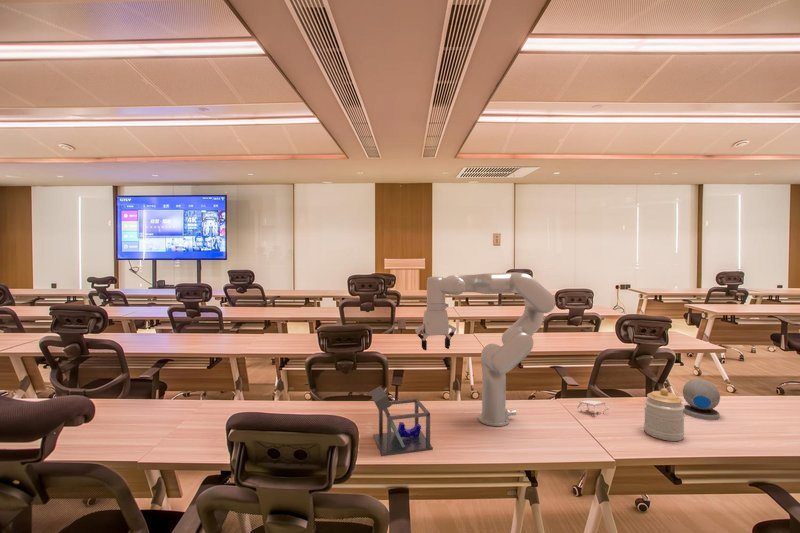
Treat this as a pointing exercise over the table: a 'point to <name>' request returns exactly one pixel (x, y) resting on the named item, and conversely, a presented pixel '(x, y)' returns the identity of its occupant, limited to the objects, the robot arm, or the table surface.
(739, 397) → the table surface
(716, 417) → the webcam
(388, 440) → the stand
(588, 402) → the white legged frame
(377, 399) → the trapdoor
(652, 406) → the jar
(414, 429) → the cable holder
